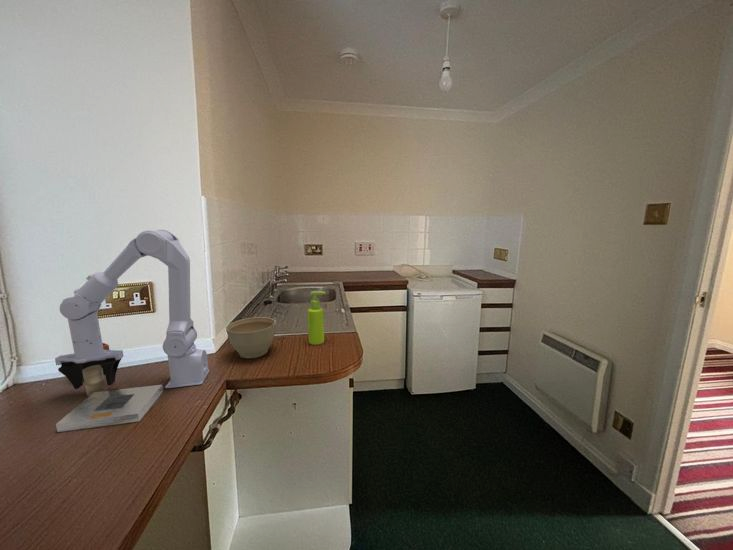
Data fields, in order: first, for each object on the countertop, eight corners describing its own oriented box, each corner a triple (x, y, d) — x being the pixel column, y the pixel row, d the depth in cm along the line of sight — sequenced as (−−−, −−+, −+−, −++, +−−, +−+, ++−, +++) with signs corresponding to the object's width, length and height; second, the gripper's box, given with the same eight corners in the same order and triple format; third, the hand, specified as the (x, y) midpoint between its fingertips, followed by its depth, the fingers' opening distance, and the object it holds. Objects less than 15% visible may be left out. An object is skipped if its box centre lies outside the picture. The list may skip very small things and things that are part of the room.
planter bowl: (269, 340, 117) (267, 314, 115) (283, 355, 104) (281, 325, 102) (225, 350, 108) (222, 322, 106) (234, 368, 95) (231, 336, 93)
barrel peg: (109, 387, 85) (105, 364, 83) (100, 394, 81) (96, 371, 80) (92, 388, 84) (88, 365, 83) (82, 396, 80) (78, 372, 79)
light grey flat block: (163, 391, 82) (162, 384, 82) (139, 421, 70) (137, 413, 70) (95, 399, 79) (94, 391, 79) (57, 432, 66) (55, 423, 66)
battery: (79, 378, 90) (73, 347, 88) (106, 368, 96) (101, 339, 94) (86, 381, 88) (80, 349, 86) (113, 371, 94) (108, 341, 92)
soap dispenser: (325, 344, 113) (323, 293, 109) (307, 344, 113) (305, 293, 110) (327, 338, 119) (326, 289, 115) (310, 338, 119) (308, 289, 115)
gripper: (41, 347, 74) (52, 397, 77) (109, 342, 77) (117, 389, 80) (63, 336, 81) (72, 382, 83) (124, 332, 84) (131, 376, 86)
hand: (95, 385), depth 82 cm, fingers open, 7 cm apart
